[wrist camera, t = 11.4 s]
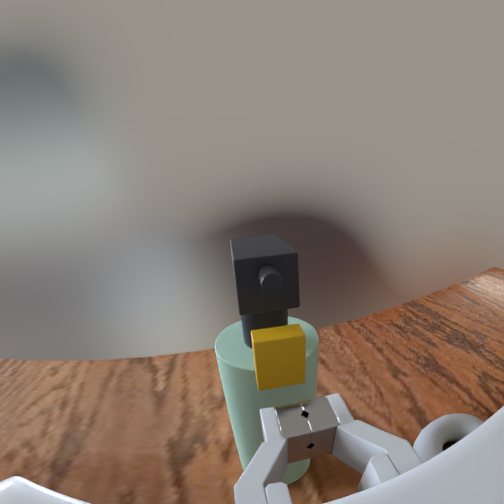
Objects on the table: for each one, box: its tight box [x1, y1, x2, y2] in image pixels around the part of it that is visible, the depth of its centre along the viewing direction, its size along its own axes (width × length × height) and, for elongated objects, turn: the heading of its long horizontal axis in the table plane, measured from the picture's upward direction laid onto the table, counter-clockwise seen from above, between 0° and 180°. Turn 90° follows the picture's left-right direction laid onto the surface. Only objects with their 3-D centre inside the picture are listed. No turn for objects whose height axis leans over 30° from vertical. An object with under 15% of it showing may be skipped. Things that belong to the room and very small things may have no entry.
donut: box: [413, 413, 484, 463], centre depth 15 cm, size 10×4×10 cm
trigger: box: [251, 323, 306, 391], centre depth 13 cm, size 2×1×3 cm, turn 96°
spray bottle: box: [215, 235, 318, 484], centre depth 18 cm, size 7×8×22 cm
